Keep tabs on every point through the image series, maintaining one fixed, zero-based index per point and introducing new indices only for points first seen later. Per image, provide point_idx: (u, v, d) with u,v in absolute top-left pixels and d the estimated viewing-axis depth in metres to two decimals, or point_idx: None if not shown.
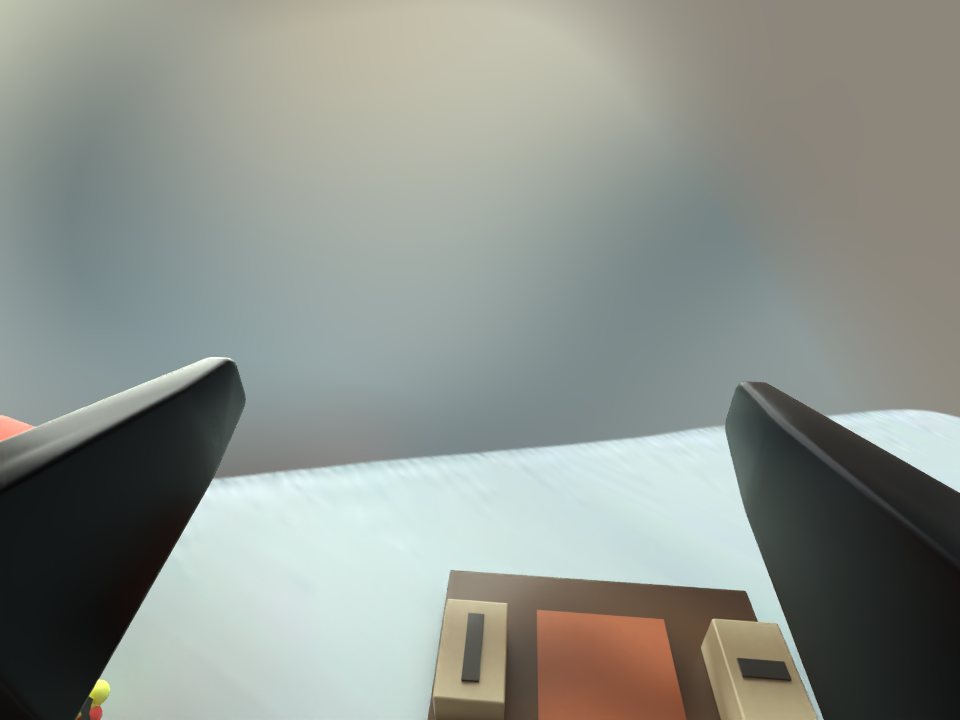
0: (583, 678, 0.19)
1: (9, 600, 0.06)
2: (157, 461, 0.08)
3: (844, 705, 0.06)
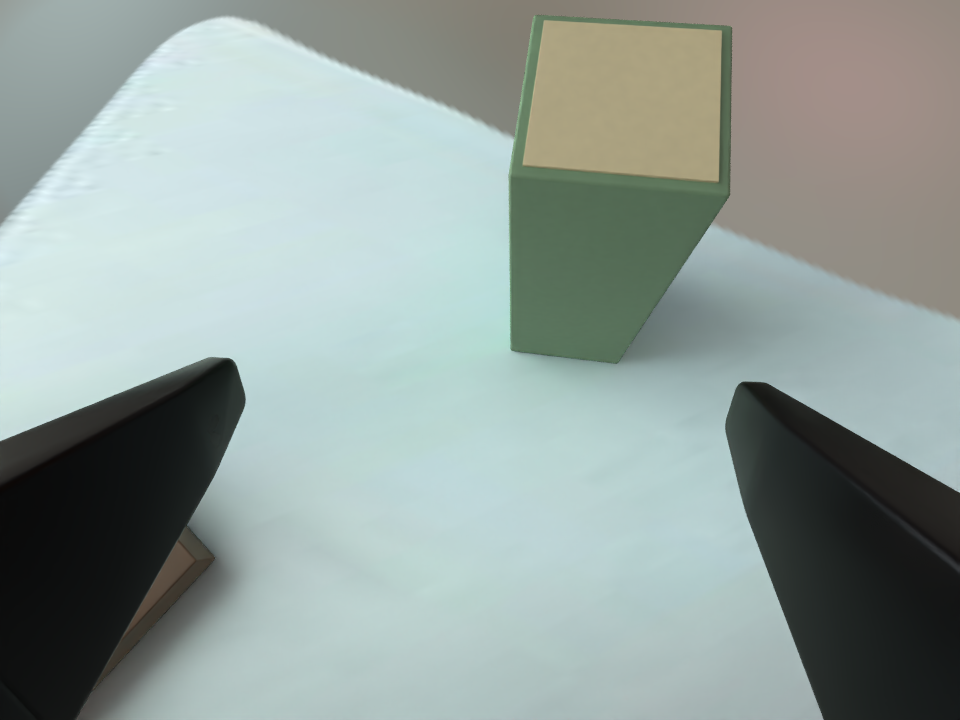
0: None
1: (10, 600, 0.06)
2: (157, 461, 0.08)
3: (844, 705, 0.06)
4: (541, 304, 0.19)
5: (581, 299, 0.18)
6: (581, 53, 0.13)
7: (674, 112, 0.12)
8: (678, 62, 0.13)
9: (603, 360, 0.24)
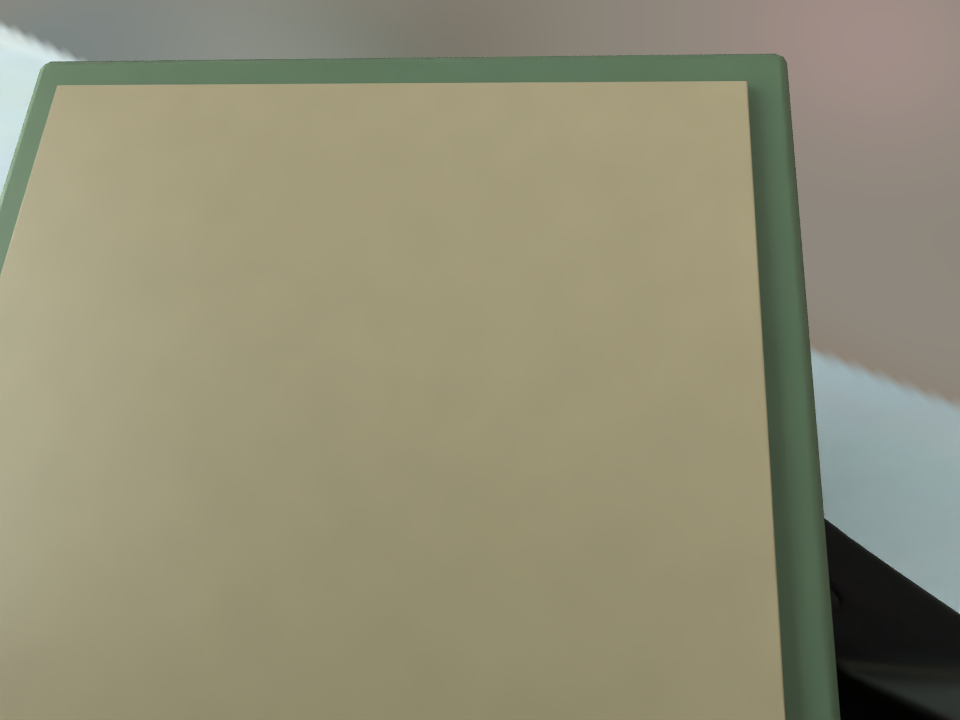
0: None
1: None
2: None
3: None
4: None
5: None
6: (174, 223, 0.03)
7: (554, 517, 0.03)
8: (571, 238, 0.03)
9: None
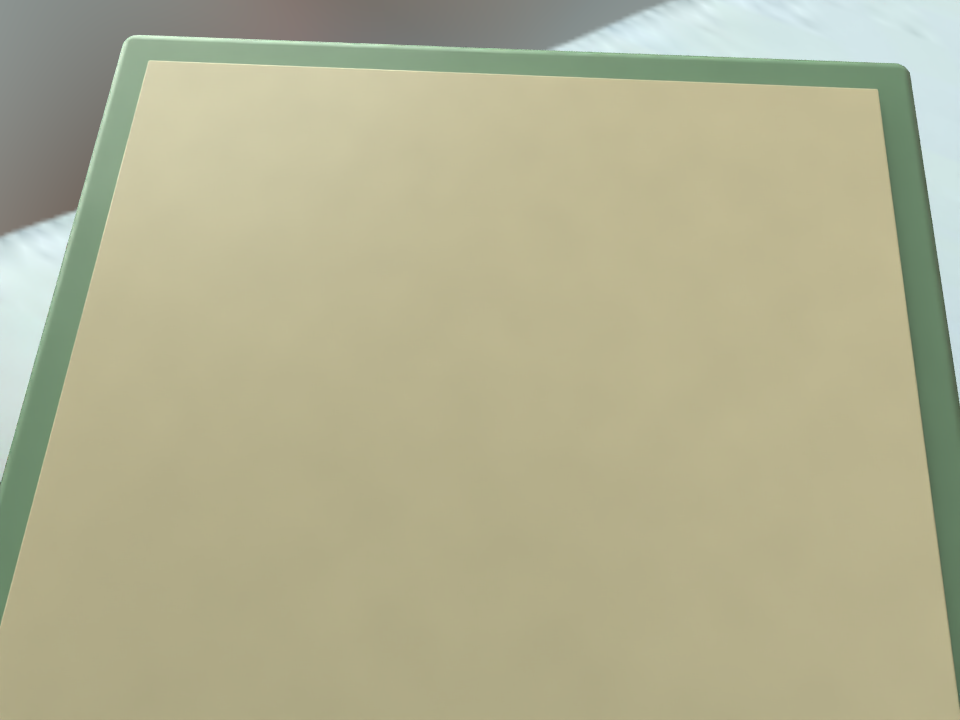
0: None
1: None
2: None
3: None
4: None
5: None
6: (286, 212, 0.03)
7: (709, 525, 0.03)
8: (710, 242, 0.03)
9: None
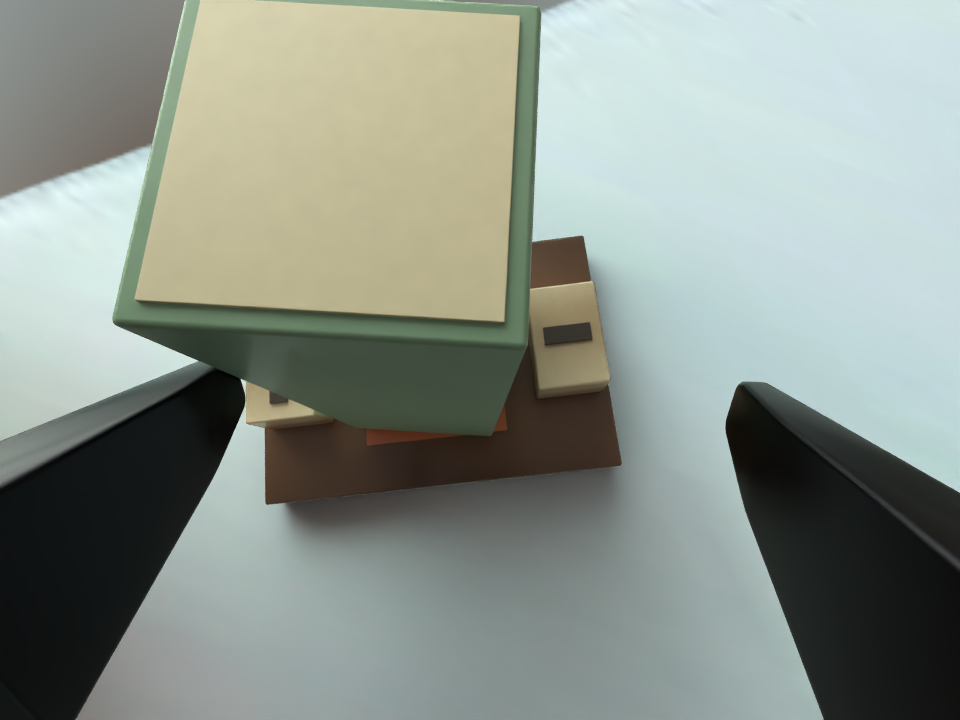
0: None
1: (10, 600, 0.06)
2: (157, 461, 0.08)
3: (844, 705, 0.06)
4: (347, 409, 0.13)
5: (396, 408, 0.12)
6: (265, 62, 0.07)
7: (431, 180, 0.07)
8: (444, 76, 0.07)
9: (472, 434, 0.18)
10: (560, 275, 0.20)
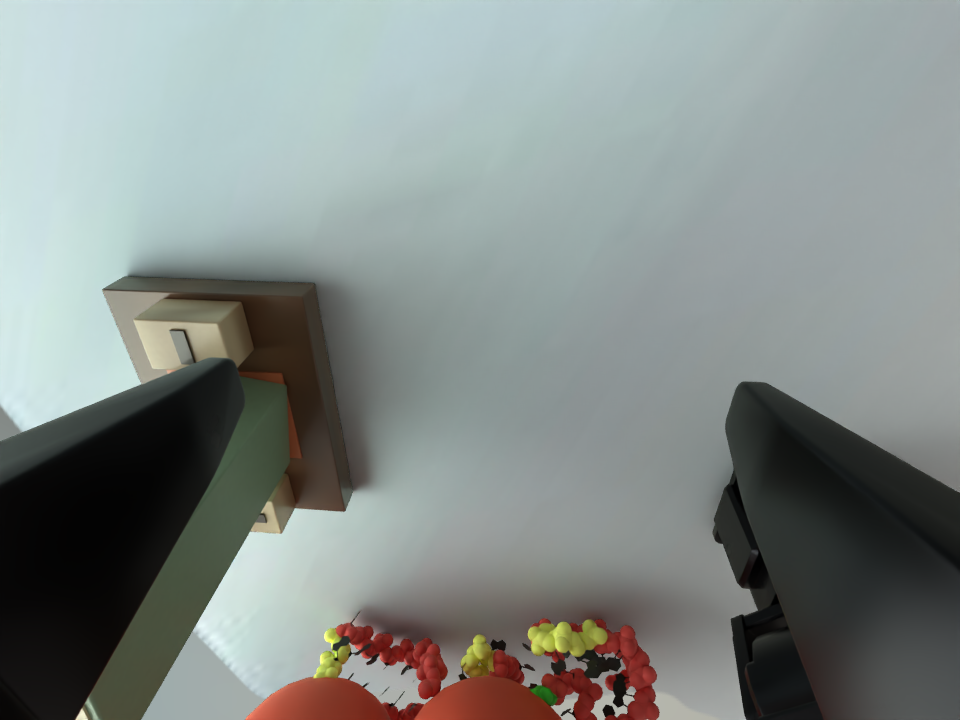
0: None
1: (9, 600, 0.06)
2: (157, 461, 0.08)
3: (844, 705, 0.06)
4: (232, 541, 0.21)
5: (219, 535, 0.20)
6: None
7: None
8: None
9: (285, 400, 0.24)
10: None
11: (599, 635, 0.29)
